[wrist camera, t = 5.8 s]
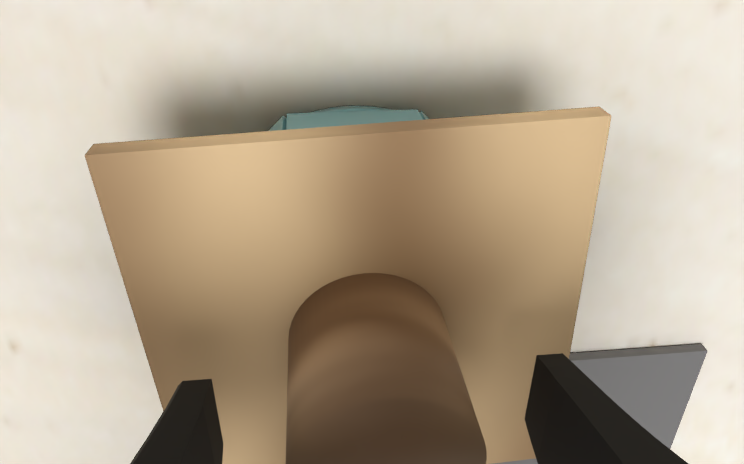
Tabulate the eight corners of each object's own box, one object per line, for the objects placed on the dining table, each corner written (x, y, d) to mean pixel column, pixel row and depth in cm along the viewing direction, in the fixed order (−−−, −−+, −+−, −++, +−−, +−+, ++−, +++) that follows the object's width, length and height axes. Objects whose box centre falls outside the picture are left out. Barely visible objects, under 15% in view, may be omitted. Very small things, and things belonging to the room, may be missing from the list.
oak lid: (193, 481, 18) (164, 648, 14) (93, 143, 12) (-2, 265, 9) (544, 440, 19) (609, 588, 15) (599, 106, 13) (725, 201, 9)
